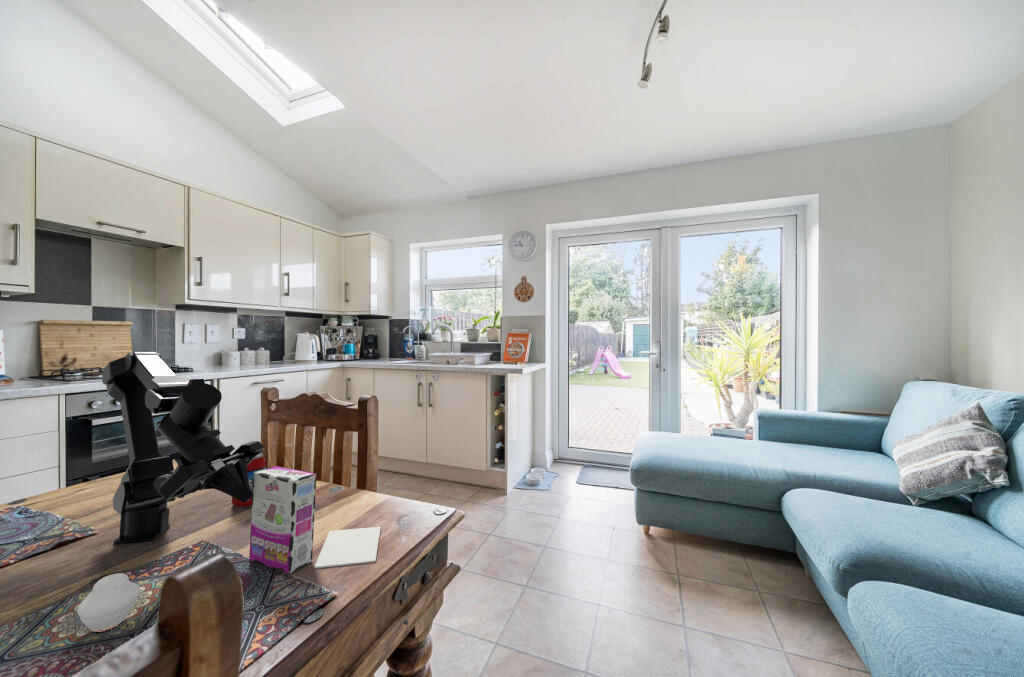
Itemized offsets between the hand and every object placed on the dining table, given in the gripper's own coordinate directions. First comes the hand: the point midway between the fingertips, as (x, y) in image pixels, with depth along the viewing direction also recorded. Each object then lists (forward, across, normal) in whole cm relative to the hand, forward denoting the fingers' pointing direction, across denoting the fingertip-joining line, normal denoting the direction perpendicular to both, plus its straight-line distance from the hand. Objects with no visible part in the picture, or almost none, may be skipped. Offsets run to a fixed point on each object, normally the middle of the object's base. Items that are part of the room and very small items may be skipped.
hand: (248, 500), depth 71 cm
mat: (+20, -7, +4) cm, 21 cm away
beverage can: (-4, -26, -20) cm, 33 cm away
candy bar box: (+12, -1, -4) cm, 13 cm away
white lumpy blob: (+3, +16, -14) cm, 22 cm away
